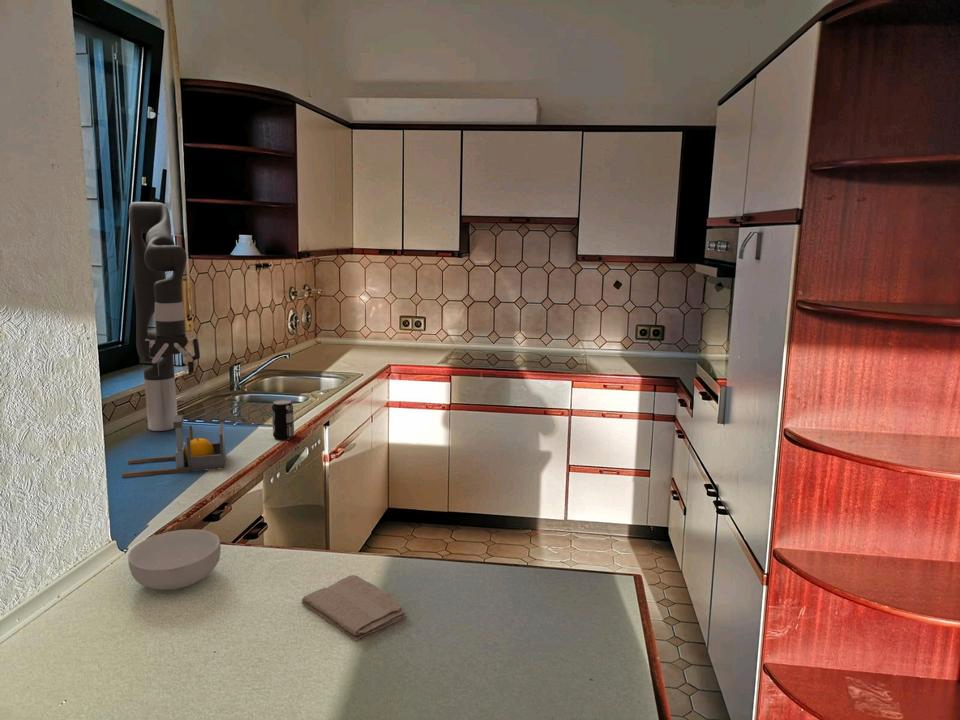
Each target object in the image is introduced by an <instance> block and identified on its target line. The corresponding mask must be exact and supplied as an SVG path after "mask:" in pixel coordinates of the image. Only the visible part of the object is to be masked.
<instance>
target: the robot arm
mask: <svg viewBox="0 0 960 720" xmlns="http://www.w3.org/2000/svg"><path fill="white" fill-rule="evenodd" d="M128 208H129V209H128V220H129V230H130V237H131V239H130V240H131V246H132V257H133V259H132V260H133V263H132V264H133V287H134V289H133V290H134V299H135V311H136V312H135V313H136V318H135V319H136V323H135V325H136V326H135V327H136V331H135V333H136V334H135V336H136V337H135V338H136V339H135V343H136V346H135V347H136V351H137V355H138V357H140V359H144V361H145V362H148V363H151V365H152V366H150V367H149V366H148V367H147V368H146V369H145V370H144V372H143V378H144V379H143V380H144V381H143V382H144V388H145V389H144V390H145V404H146V415H147V429H148V430H150V431H154V432H160V431H161V432H162V431H169V430H173V429H175V428H174V425H173V422H174V419H175V415H178V405H177V390H176V380H175V379H176V378H175V364H174V355H179V354H181V355H182V356H183V357H184V358H185V359H186V360H187V361H188V362H187V368H188V371H187V372H188V375H192V374H193V373H194V372H195V365H194V364H195V363H194V362H195V361H197V360H200V358H201V353H200V352H201V351H200V346H199V345H200V344H199V338H198V337H197V336H195V337H193V338H188V337H187V335H186V323H185V322H186V319H185V308H184V303H183V290H182V289H183V287H182V286H183V283H182V282H183V276H184V272H185V268H186V264H187V260H188V257H187V252H186V250H185V249H184V247H182V245H181V246H180V245H176V244H175V242H174V239H173V236H172V224H171V223H172V222H171V216H170V211H169V209H168V206H167V205H166V204H164V203H163V202H157V201H155V202H154V201H132V202H131V203H130V204H129V207H128ZM143 234H146V235H145V240H144V238H143ZM166 272H172V274H171V276H170V277H168V278H166V277H167V276H166ZM153 316H154V322H155V329H149V325H150V322H151V320H152V317H153ZM188 343H189V344H190V346H192V347H193V352H194V355H193V354H191V353H190V352H189V350H188V349H187V348H186V346H187V344H188ZM160 358H162V359H161V360H160V361H159V359H160Z"/></svg>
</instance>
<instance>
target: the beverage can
mask: <svg viewBox="0 0 960 720" xmlns="http://www.w3.org/2000/svg"><path fill="white" fill-rule="evenodd" d="M271 417H272V436H273V437H274V439H276V440H278V439H279V441H285V440H290V439H292V438H293V437H294V435H295V426H294V425H295V423H294V421H295V420H294V417H295V416H294V404H293V403H292V400H291V399H283V398H282V399H277V400H276V399H275V400H274V401H273V402H272V405H271Z"/></svg>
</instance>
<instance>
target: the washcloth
mask: <svg viewBox="0 0 960 720" xmlns="http://www.w3.org/2000/svg"><path fill="white" fill-rule="evenodd" d="M301 604H302V605H303V606H304V607H305V608H307V609H308V610H310V611H311V612H313V613H314V614H316V615H317V616H318V617H320V618H321V619H323V621H325V622H327V623H329V624H330V625H332V626H333V627H335V629H338V630H339V631H341V632H342V633H343V634H344V635H345V636H347V637H349V639H351V640H352V641H354V642H355V643H357V642H358V641H359V640H363V639H367V638H370V637H372V636H373V635H377V634H378V633H380V632H382V631H383V630H385V629H387V628H389V627H391V626H394V625H395V624H397V623H399V622H402V621H404V619H406V618H407V615H406V612H405V611H404V609H402V607H403V604H402V603H400V602H399V601H398V600H396V599H394V597H392V595H391V594H390V592H388V591H385V590H383V589H381V588H380V587H378V586H376V585H374V584H373V583H371V582H369V581H367V580H365V579H363V578H361V577H359V576H358V575H355V574H351V575H348V576H345V578H342V579H340V580H338V581H336V582H335V583H334V584H331V585H329V586H327V587H323V588H320V589H317V590H315V591H313V592H310V593H308V594H306V595H304V596H303V597H302V599H301Z"/></svg>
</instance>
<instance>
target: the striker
mask: <svg viewBox="0 0 960 720" xmlns="http://www.w3.org/2000/svg"><path fill="white" fill-rule="evenodd" d="M183 424H184V415H183V414H180V415H179V414H177V415H175V419H174V422H173V425H174V429H175V439H176V448H175V453H174V454H175V455H174V456H175V457H176V460H175V468H185V466H186V464H187V463H186V462H187V460H186V458H185V448H186V446H187V444H186V442H184V435H183V433H184V432H183Z"/></svg>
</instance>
